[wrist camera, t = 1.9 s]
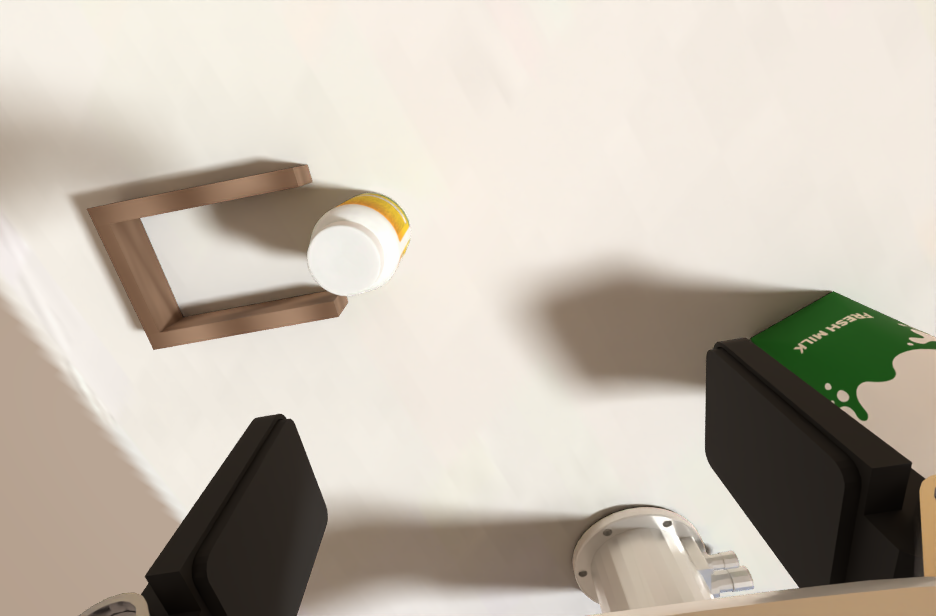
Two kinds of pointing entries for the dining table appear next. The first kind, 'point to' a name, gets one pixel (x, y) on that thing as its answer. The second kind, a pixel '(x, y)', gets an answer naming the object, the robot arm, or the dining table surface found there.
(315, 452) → the dining table surface
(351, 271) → the supplement bottle
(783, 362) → the milk carton
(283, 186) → the u rest
